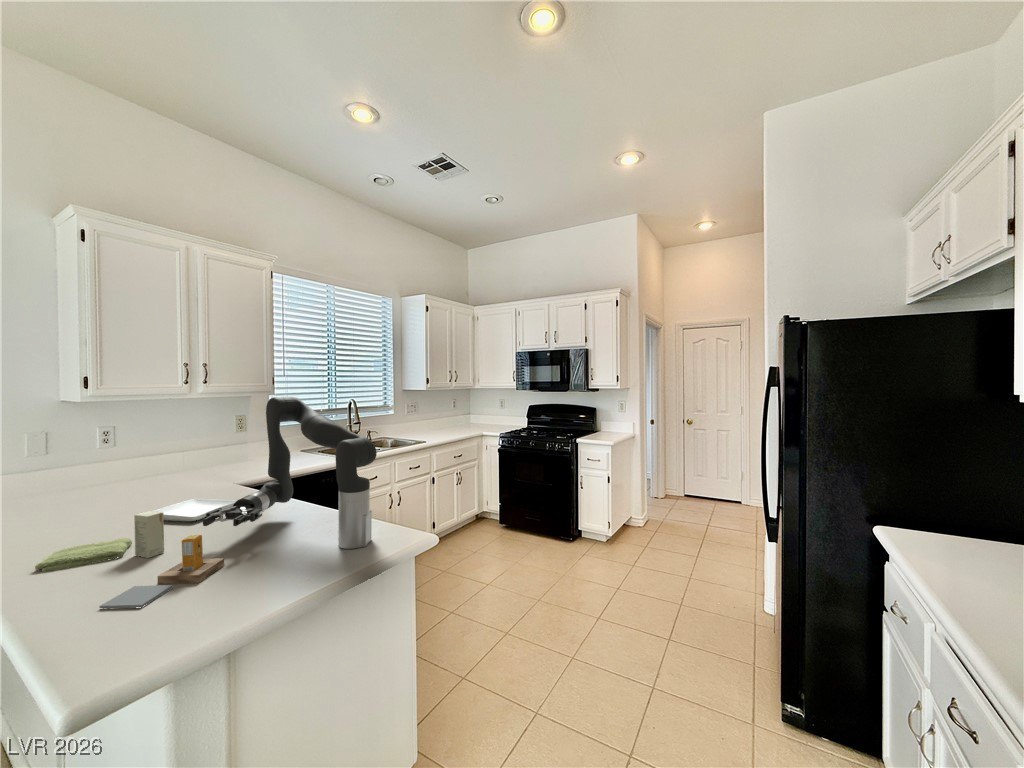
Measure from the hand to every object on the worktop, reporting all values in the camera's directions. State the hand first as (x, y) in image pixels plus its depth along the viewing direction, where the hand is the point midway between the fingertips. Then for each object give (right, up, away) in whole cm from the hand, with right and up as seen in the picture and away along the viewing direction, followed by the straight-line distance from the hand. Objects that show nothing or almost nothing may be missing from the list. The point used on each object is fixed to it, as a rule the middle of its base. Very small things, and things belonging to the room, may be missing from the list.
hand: (219, 522), depth 119 cm
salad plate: (-38, -10, +39) cm, 55 cm away
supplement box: (+1, -10, -11) cm, 15 cm away
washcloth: (-38, -10, -1) cm, 39 cm away
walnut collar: (+1, -10, -11) cm, 15 cm away
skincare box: (-22, -10, +1) cm, 24 cm away
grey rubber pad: (-2, -10, -24) cm, 26 cm away
